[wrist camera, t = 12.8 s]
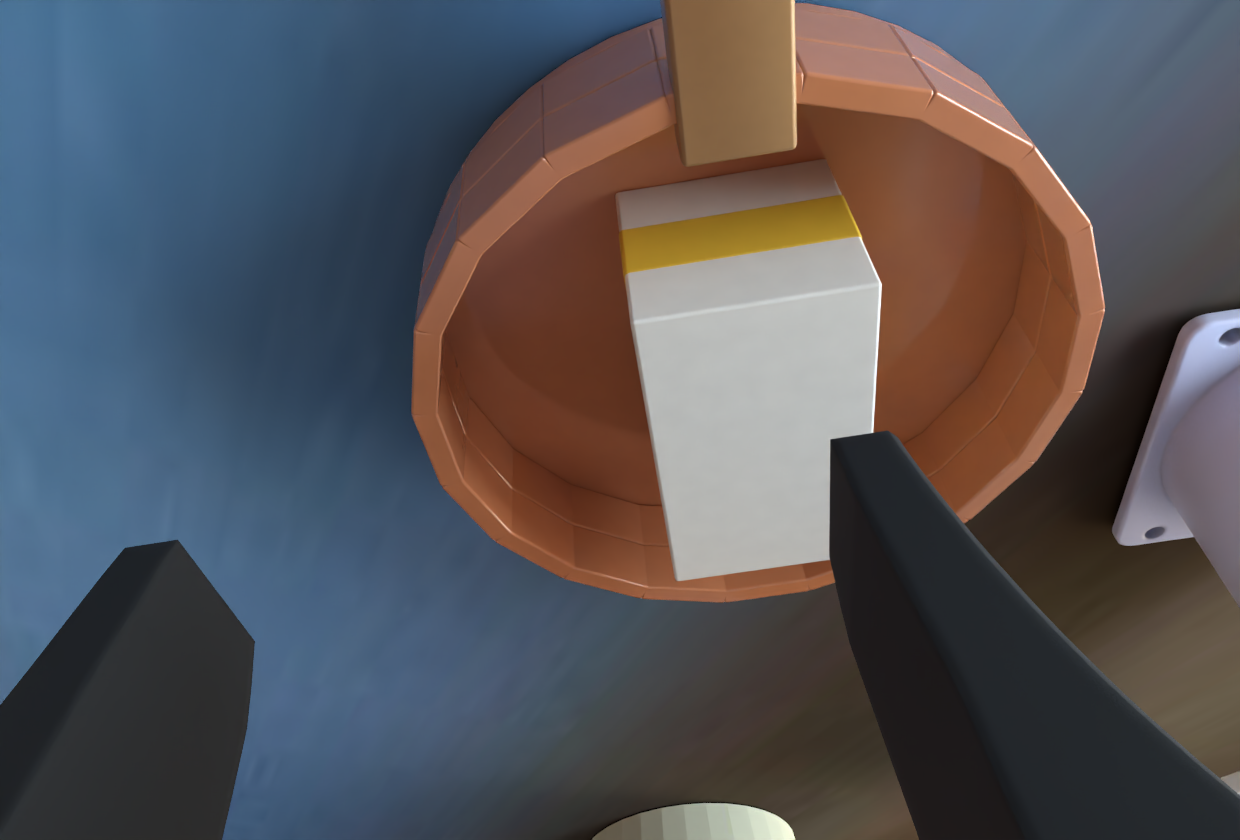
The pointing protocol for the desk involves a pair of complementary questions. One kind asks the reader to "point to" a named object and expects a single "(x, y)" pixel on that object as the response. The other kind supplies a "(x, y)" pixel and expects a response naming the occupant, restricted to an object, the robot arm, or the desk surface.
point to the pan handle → (731, 77)
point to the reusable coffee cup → (700, 824)
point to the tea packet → (749, 357)
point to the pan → (599, 315)
